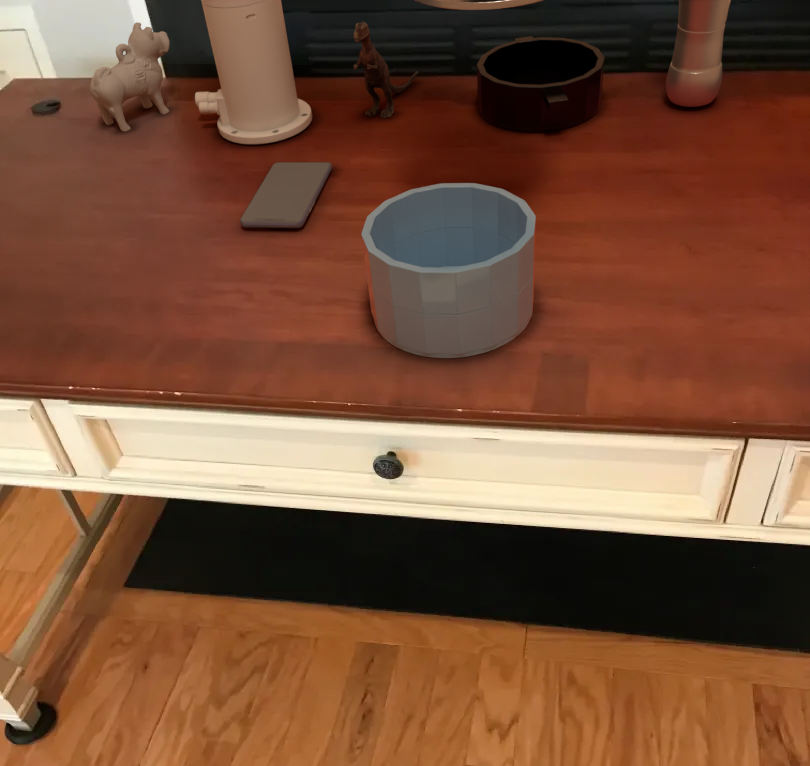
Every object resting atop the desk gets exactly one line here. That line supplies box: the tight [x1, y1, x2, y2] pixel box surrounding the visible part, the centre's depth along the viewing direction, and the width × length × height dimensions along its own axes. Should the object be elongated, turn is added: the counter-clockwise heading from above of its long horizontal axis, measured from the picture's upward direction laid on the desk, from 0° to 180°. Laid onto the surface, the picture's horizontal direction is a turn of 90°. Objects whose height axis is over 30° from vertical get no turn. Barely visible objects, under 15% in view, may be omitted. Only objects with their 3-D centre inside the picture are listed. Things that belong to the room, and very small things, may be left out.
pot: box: [360, 182, 537, 359], centre depth 85 cm, size 16×16×9 cm
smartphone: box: [239, 161, 333, 229], centre depth 105 cm, size 8×1×15 cm
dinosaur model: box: [353, 21, 419, 119], centre depth 117 cm, size 4×12×15 cm
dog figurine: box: [89, 21, 170, 132], centre depth 122 cm, size 5×13×11 cm, turn 138°
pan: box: [476, 35, 606, 134], centre depth 115 cm, size 16×21×6 cm
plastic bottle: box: [665, 0, 732, 108], centre depth 106 cm, size 6×7×20 cm
